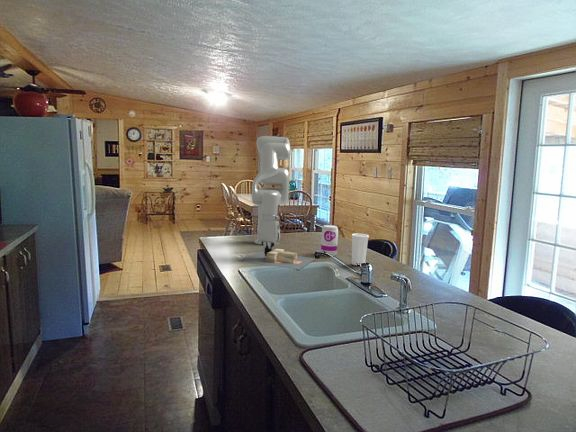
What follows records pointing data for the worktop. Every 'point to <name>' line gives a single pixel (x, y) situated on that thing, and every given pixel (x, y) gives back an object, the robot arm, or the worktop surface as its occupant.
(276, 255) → the t block
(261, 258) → the mat
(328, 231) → the supplement can
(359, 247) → the cup
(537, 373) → the worktop surface
